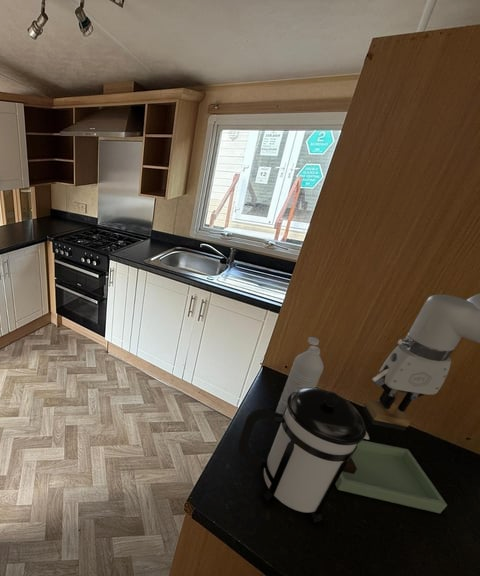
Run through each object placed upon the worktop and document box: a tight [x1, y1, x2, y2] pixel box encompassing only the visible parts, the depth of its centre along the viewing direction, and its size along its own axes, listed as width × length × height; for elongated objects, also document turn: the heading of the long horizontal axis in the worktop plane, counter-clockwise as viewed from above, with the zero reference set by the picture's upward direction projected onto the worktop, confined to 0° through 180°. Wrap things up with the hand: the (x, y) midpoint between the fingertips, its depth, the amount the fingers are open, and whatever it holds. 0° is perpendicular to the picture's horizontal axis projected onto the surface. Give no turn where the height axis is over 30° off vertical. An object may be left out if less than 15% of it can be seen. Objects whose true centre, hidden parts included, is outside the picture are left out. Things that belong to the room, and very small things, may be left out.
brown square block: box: [343, 458, 357, 474], centre depth 77 cm, size 4×4×2 cm
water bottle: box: [275, 336, 325, 417], centre depth 86 cm, size 9×6×25 cm
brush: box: [362, 390, 412, 432], centre depth 79 cm, size 7×5×10 cm
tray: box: [334, 439, 448, 514], centre depth 75 cm, size 20×14×3 cm
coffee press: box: [238, 387, 370, 525], centre depth 65 cm, size 17×16×30 cm
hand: (391, 405), depth 79 cm, fingers closed on brush, 2 cm apart
